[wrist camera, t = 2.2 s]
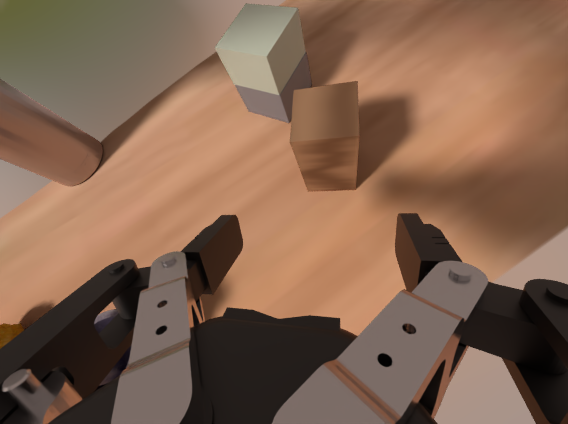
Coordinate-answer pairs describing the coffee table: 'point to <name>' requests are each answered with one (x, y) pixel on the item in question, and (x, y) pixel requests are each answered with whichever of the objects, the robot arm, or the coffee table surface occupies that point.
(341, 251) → the coffee table surface
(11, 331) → the food
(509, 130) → the coffee table surface
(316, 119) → the walnut block
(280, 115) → the tower base
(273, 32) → the tower top
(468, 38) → the coffee table surface
